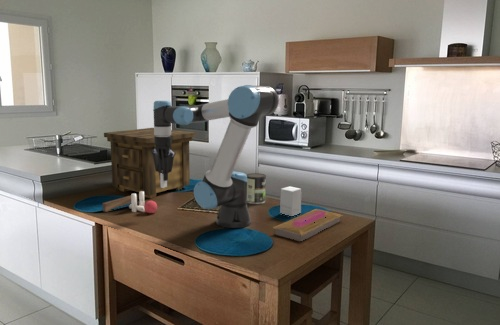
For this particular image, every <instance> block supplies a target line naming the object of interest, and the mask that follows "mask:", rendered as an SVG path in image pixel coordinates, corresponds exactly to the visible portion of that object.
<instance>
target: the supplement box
mask: <svg viewBox="0 0 500 325" xmlns="http://www.w3.org/2000/svg"><path fill="white" fill-rule="evenodd" d="M279 201H280V205H279V206H280V207H279V211H280V212H279V214H280V213H282V214H285V215H289V216H294V215H297V214H299V213H301V214H302V188H299V187H294V186H290V185H289V186H285V187H282V188H280V199H279ZM282 214H281V215H282ZM285 215H284V216H285ZM289 216H288V217H289ZM297 216H298V215H297ZM294 217H295V216H294Z"/></svg>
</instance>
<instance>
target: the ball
mask: <svg viewBox="0 0 500 325" xmlns="http://www.w3.org/2000/svg"><path fill="white" fill-rule="evenodd" d="M144 209H145V211H144V212H146V213H148V214H154V213H155V212H156V211H157V209H158V204H157V202H156V201H155V200H148V201H145V205H144Z"/></svg>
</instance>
